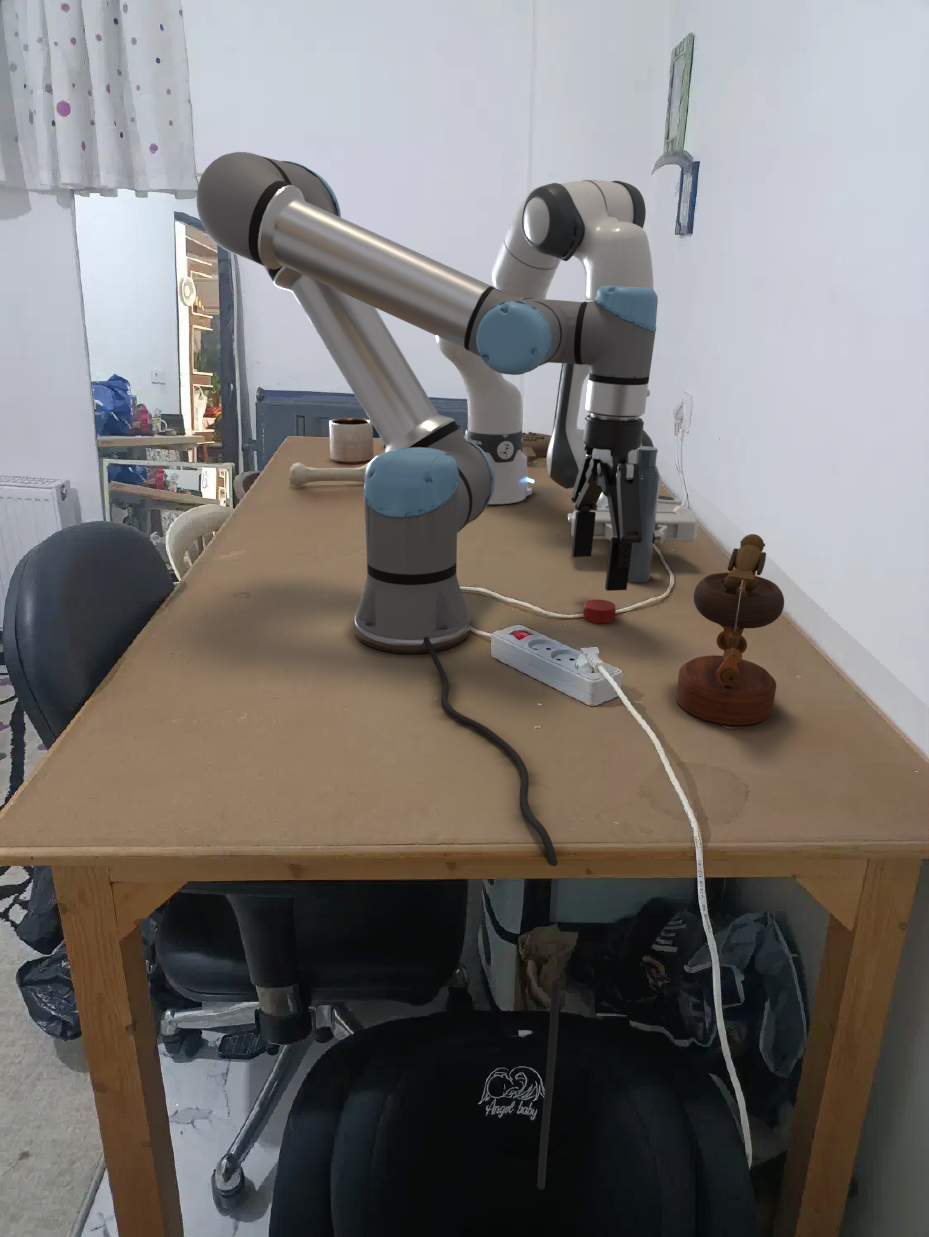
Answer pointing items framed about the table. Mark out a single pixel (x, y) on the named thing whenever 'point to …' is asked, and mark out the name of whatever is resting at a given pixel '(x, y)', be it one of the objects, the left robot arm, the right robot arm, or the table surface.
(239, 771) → the table surface
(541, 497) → the table surface
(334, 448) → the planter
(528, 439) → the ice cream bar
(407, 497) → the left robot arm
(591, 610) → the cap
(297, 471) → the dog toy
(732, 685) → the music box
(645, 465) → the bottle
